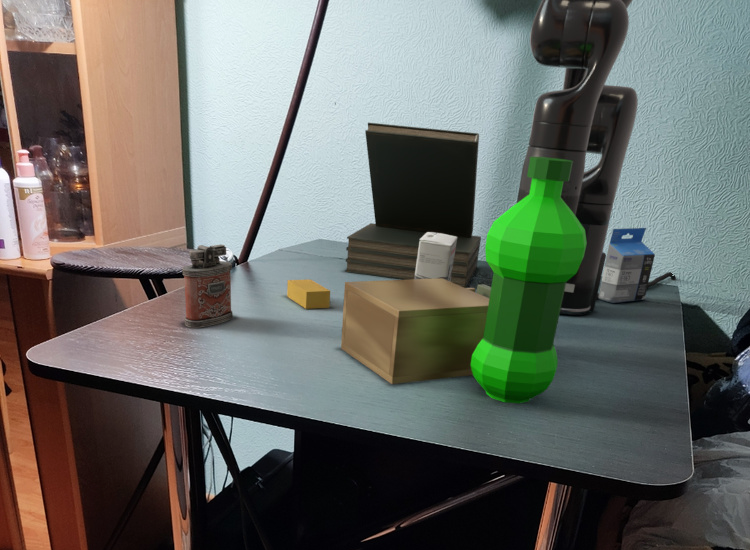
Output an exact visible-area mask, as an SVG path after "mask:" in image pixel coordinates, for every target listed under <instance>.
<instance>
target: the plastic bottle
mask: <svg viewBox="0 0 750 550" xmlns="http://www.w3.org/2000/svg"><path fill="white" fill-rule="evenodd" d="M572 164H573V161H570V160H564V159H557V158H547V157H530V162H529V168H528V174H527V177H530V178H532V182H531V188H530V194H529V195H528V196H526V197H525V198H524V199H522V200H521V201H519V202H518V203H517V202H516V203H515V204H514V205H512V206H510V208H508V209H507V210H506V211H505V212H504V213H502V214H501V215H500V216H499V217H498V218H496V219H495V220H493V222H492V224H491V226H490V228H489V230H488V231H487V234H486V240H485V247H484V250H485V251H484V252H485V261H486V263H487V264H488V266H489V267H490V269H491V270H492V272H493V274H492V280H491V286H490V287H491V292H490V299H489V305H488V311H487V317H486V324H485V330H484V336H483V339H482V340H481V341H480V343H479V344H478V345H477V347H476V349H475V351H474V352H473V354H472V359H471V369H472V373H473V375H472V376H473V377H474V379H475V381H476V383H478V384H479V386H480V387H481V388H482V390H483V391H485V394H486V395H487V396H489V397H490V398H491V399H493V400H495V401H498V402H499V401H500V402H503V403H507V404H519V405H520V404H525V403H528V402H530V400H531V399H534V398H536V397H537V396H539V395H541V394H543V393H544V392H545V391H547V390H548V389H549V387H550V385H551V384H552V382H553V381H554V378H555V376H556V372H557V368H558V364H559V360H558V355H557V354H558V353H557V350H556V347H555V344H554V343H555V338H556V333H557V329H558V324H559V319H560V315H561V314H560V309H561V305H562V300H563V295H564V290H565V285H566V281H568V280H569V279H570V278H571V277H573V276H574V275H575V274H576V273H577V271H578V269H579V266H580V264H581V262H582V259H583V257H584V254H585V249H586V244H587V241H586V234H585V229H584V228H583V226H582V225H581V223H580V222H579V220H578V219H577V218H576V216H575V215H574V213H573V212H572V211H571V209H570V208H569V207H568V206H567V204H566V203H565V202H564V201H563V200H562V198H561V192H562V187H563V182H564V181H569V179H570V174H571V169H572Z"/></svg>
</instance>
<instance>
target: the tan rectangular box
mask: <svg viewBox="0 0 750 550" xmlns="http://www.w3.org/2000/svg"><path fill="white" fill-rule="evenodd" d="M466 288H467V287H466ZM466 288H464V287H461V286H459V285H457V284H454V283H452V282H450V281H447V280H445V279H443V278H436V279H410V280H404V279H385V280H363V281H360V280H359V281H345V282H344V292H343V308H342V309H343V310H342V324H341V325H342V326H341V340H340V341H341V343H340V344H341V345H340V349H341V350H342V351H344V352H345V353H346V354H348V355H349V356H351V357H352V358H354V360H356V361H357V362H360V364H363V365H364V366H365V367H366V368H368V369H369V370H371V371H372V372H373V373H375V374H377V375H378V376H379V377H380V378H382V379H384V380H385V381H387V382H388V383H389V384H391V385H398V384H405V383H407V384H408V383H416V382H425V381H435V380H442V379H443V380H444V379H452V378H461V377H468V376H473V373H472V369H471V359H472V354H473V352H474V351H475V349H476V347H477V345H478V344H479V343H480V341H481V340H482V339H483V336H484V330H485V324H486V317H487V311H488V305H489V298H487V297H485V296H482V295H480V294H478V293H476V291H475V292H473V291H471V290H468V289H466Z"/></svg>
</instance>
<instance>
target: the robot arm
mask: <svg viewBox="0 0 750 550" xmlns="http://www.w3.org/2000/svg"><path fill="white" fill-rule="evenodd" d="M632 2H633V0H541V2H540V4H539V6H538V8H537V11H536V13H535V15H534V18H533V21H532V24H531V28H530V32H529V33H530V34H529V46H530V47H529V48H530V52H531V55H532V57H533V59H534V60H535V61H536V63H537V64H539V65H541V66H544V67H549V68H562V69H564V77H563V83H562V89H560V90H553V91H547V92H544V93H542V94H540V95H539V96H538V97H537V98H536V102H535V105H534V110H533V114H532V122H531V126H530V133H529V140H528V146H527V149H526V153H525V154H526V155H525V157H524V160H523V164H522V167H521V175H520V181H519V187H518V192H517V198H516V204H517V203H518V202H519V201H521V200H522V199H524V198H525V197H526V196H528V195H529V194H530V188H531V182H532V178H530V177H527V174H528V168H529V162H530V157H547V158H557V159H564V160H570V161H573V164H572V169H571V174H570V179H569V181H564V182H563V187H562V192H561V198H562V200H563V201H564V202H565V203H566V204H567V206H568V207H569V208H570V209H571V211H572V212H573V213H574V215H575V216H576V218H577V219H578V220H579V222H580V223H581V225H582V226H583V228H584V229H585V234H586V241H587V244H586V249H585V254H584V257H583V259H582V262H581V264H580V266H579V269H578V271H577V273H576V274H575V275H574V276H573V277H571V278H570V279H569V280H568V281H566V285H565V290H564V295H563V300H562V305H561V309H560V314H559V315H566V316H567V315H568V316H583V315H587V314H589V313H590V312H594V311H595V306H596V301H598V300H599V299H598V297H599V291H600V286H601V281H602V277H603V272H604V267H605V262H606V257H607V253H605V252H603V251H604V247H605V244H606V243H605V242H606V239H607V233H608V230H609V226H610V221H611V216H612V211H613V207H614V203H615V199H616V194H617V190H618V187H619V183H620V177H621V174H622V170H623V165H624V161H625V159H626V158H625V157H626V154H627V151H628V147H629V144H630V141H631V136H632V133H633V130H634V127H635V126H634V125H635V122H636V121H635V120H636V119H637V112H638V105H639V104H638V94H637V91H636V90H635V88H632V87H629V86H620V85H611V84H609V85H608V84H606V82H607V80H608V78H609V76H610V74H611V72H612V69H613V67H614V65H615V63H616V61H617V59H618V57H619V55H620V53H621V51H622V49H623V46H624V43H625V40H626V38H627V36H628V31H629V26H630V19H629V17H630V16H629V13H628V8H629V7H630V5H631V3H632ZM587 154H593V155H601V156H600V158H599V160H598V162H597V164H596V165H594V166H593V167H592V168H590V169H588V170H586V169H585V168H586V156H587ZM585 170H586V171H585ZM671 272H672V271H668V272H666V273H663V274H662V275H660V276H658V277H657V276H656V278H654V279H652V281H649V282H648V286H647V289H648V288H651V287H653V286H656V285H657V284H659V283H660V282H662V281H664V280H666V279H668V278H670V280H671V281H676V280H677V278H676V277H677V276H676V274H675V275H674V276H672V275H673V274H672V273H673V272H672V273H671Z"/></svg>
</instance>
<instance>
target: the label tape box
mask: <svg viewBox="0 0 750 550" xmlns="http://www.w3.org/2000/svg"><path fill="white" fill-rule="evenodd" d="M646 230H647V227H630V228H628V227H627V228H624V227H623V228H613V229H612V231H611V235H610V240H609V243H608V248H607V253H606V259H605V263H604V267H603V272H602V276H601V281H600V286H599V291H598V294H599V297H598V299H597V300H601V301H604V302H607V303H611V304H616V303H625V302H635V301H643V300H645V298H646V295H647V290H648V288H647V286H648V283H649V282H650V278H651V273H652V270H653V265H654V261H655V256H656V254H655V253H654V252H653V251H652V250H651V249H650V248H649V247H648V246H647V245H645V244H644V242H643V239H644V237H645V232H646ZM627 235H629V236H631V237H630V238H629V237H628V238H623V236H627Z"/></svg>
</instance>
